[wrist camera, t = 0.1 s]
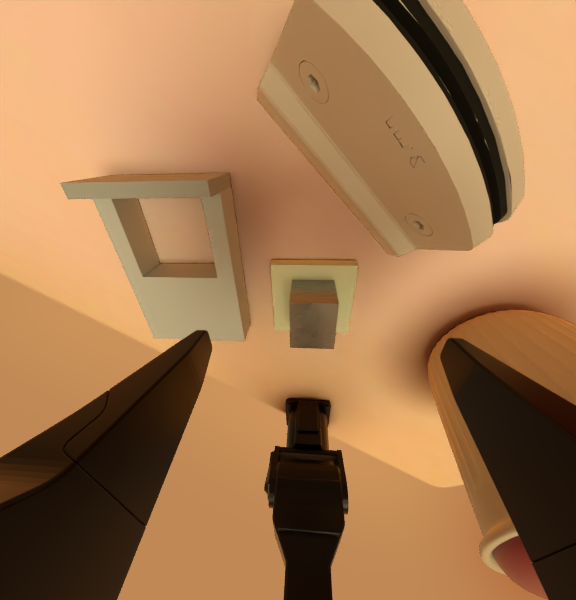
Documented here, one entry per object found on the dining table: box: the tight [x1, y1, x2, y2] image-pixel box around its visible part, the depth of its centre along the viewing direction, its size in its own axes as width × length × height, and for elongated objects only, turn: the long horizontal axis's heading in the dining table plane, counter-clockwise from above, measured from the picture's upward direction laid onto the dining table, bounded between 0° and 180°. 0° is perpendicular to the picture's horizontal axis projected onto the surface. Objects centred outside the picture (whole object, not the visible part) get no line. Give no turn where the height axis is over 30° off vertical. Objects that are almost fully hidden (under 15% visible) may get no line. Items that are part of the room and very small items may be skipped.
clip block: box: [289, 280, 339, 349], centre depth 22 cm, size 5×4×4 cm
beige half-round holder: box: [257, 0, 525, 257], centre depth 14 cm, size 17×5×10 cm, turn 46°
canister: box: [428, 310, 576, 600], centre depth 18 cm, size 18×18×21 cm
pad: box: [270, 260, 358, 333], centre depth 24 cm, size 8×8×1 cm
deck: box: [60, 173, 251, 341], centre depth 22 cm, size 16×10×5 cm, turn 1°
